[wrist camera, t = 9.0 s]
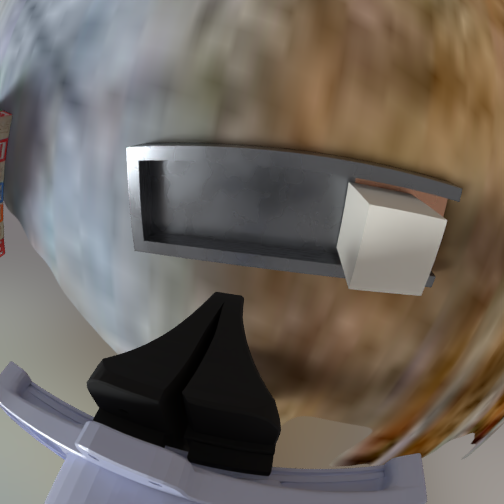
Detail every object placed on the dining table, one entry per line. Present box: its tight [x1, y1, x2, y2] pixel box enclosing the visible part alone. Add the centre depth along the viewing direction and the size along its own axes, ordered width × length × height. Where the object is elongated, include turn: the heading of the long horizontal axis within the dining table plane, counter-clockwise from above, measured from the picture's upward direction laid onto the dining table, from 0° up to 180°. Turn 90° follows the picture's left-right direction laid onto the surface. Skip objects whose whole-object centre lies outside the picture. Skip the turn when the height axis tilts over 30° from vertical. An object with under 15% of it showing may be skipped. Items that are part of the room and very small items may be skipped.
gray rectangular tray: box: [127, 143, 462, 287], centre depth 18 cm, size 8×24×2 cm, turn 86°
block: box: [336, 182, 447, 296], centre depth 16 cm, size 5×5×6 cm
